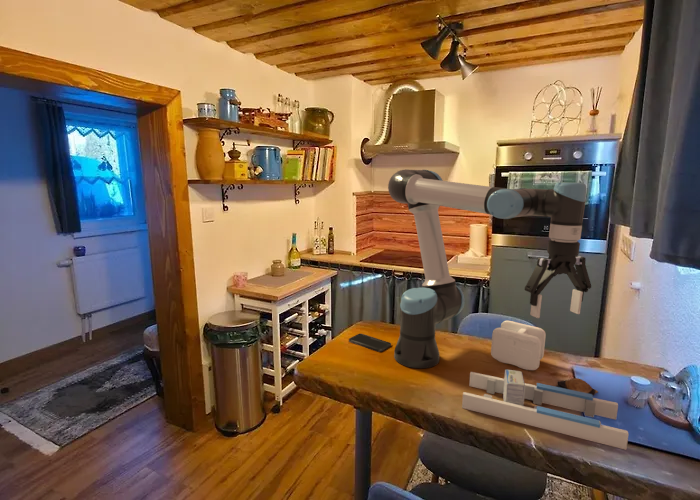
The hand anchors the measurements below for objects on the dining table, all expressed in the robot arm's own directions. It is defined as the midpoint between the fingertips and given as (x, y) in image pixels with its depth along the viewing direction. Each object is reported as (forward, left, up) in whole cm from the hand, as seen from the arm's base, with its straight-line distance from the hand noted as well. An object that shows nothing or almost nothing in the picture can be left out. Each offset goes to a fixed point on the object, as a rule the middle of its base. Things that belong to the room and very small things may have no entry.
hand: (555, 314), depth 106 cm
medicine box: (-9, -15, -23) cm, 28 cm away
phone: (-59, +5, -23) cm, 63 cm away
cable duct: (-3, -15, -23) cm, 27 cm away
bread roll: (+7, +3, -23) cm, 25 cm away
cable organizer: (-9, +14, -23) cm, 28 cm away
